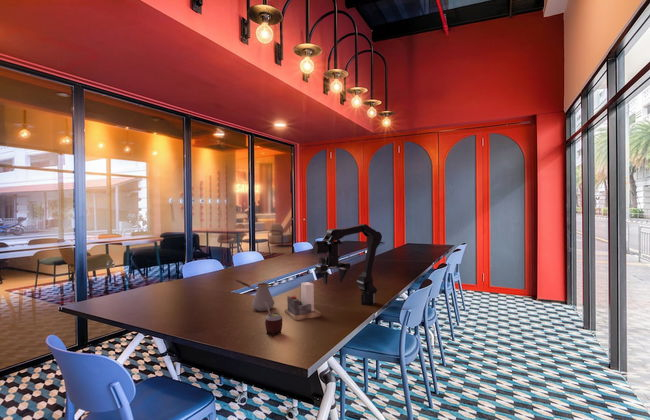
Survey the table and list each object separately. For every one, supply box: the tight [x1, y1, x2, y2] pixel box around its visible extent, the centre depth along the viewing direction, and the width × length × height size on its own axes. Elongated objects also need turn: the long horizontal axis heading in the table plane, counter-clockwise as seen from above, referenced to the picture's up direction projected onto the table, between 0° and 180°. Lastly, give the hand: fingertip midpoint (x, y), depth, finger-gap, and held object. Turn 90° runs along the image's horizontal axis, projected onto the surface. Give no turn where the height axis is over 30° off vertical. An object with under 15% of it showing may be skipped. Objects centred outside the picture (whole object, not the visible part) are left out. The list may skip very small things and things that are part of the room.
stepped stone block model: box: [284, 295, 322, 321], centre depth 168 cm, size 14×14×10 cm
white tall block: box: [300, 281, 315, 311], centre depth 169 cm, size 4×6×13 cm, turn 27°
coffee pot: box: [234, 279, 275, 312], centre depth 179 cm, size 21×12×15 cm, turn 80°
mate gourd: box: [263, 301, 283, 337], centre depth 142 cm, size 8×8×15 cm
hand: (333, 283), depth 176 cm, fingers open, 9 cm apart
